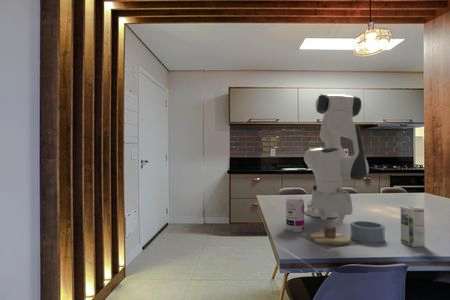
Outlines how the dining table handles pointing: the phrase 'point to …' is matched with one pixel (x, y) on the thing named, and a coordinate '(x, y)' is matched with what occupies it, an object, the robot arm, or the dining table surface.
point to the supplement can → (295, 214)
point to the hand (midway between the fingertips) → (331, 222)
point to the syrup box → (412, 226)
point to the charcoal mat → (352, 242)
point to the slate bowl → (367, 231)
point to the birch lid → (330, 237)
